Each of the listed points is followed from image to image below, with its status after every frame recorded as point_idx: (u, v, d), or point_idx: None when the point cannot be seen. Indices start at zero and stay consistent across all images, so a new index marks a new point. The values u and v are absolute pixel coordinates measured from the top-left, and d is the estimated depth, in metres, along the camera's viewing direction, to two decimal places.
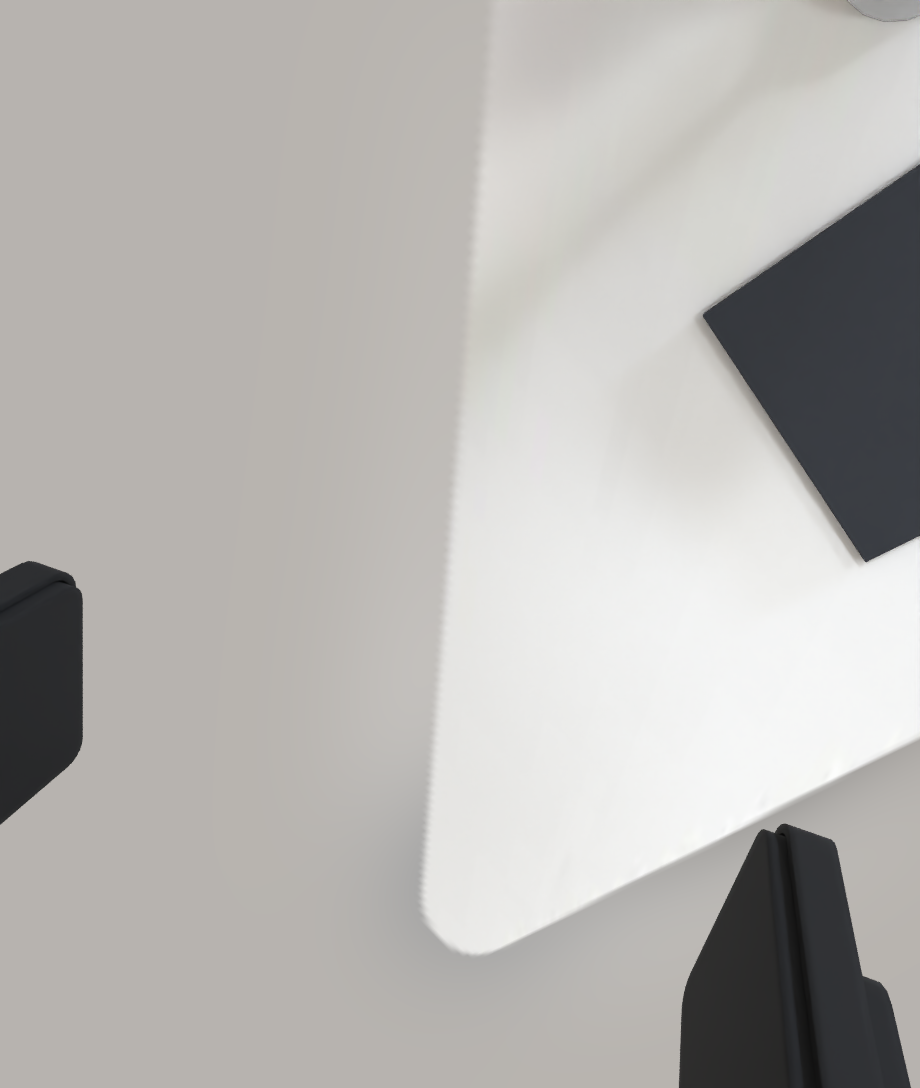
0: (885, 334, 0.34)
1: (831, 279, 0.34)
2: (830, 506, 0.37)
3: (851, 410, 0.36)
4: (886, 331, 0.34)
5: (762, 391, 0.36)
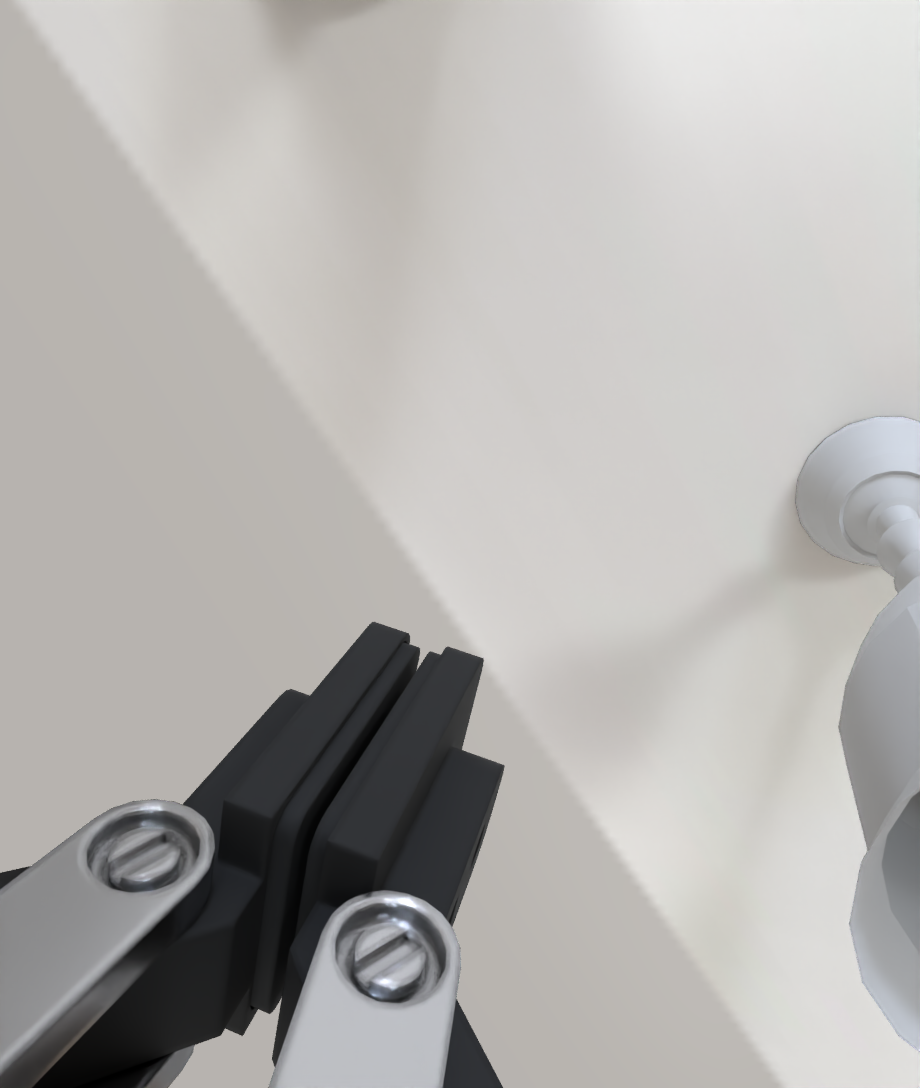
0: None
1: None
2: None
3: None
4: None
5: None
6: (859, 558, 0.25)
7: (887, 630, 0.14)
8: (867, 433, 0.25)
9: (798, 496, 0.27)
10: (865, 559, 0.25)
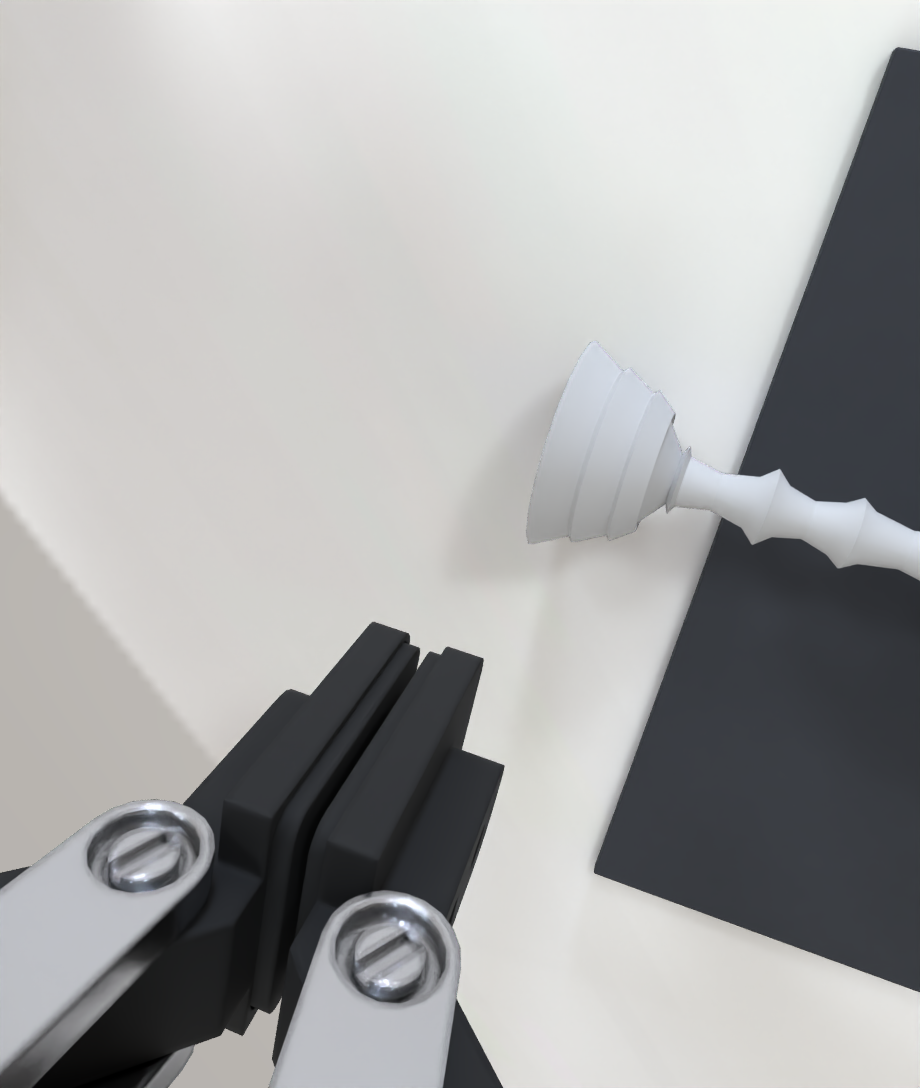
0: (813, 798, 0.24)
1: (696, 777, 0.24)
2: None
3: (852, 889, 0.24)
4: (811, 795, 0.24)
5: (728, 914, 0.26)
6: (620, 529, 0.18)
7: None
8: (613, 360, 0.19)
9: (553, 438, 0.17)
10: (623, 530, 0.19)
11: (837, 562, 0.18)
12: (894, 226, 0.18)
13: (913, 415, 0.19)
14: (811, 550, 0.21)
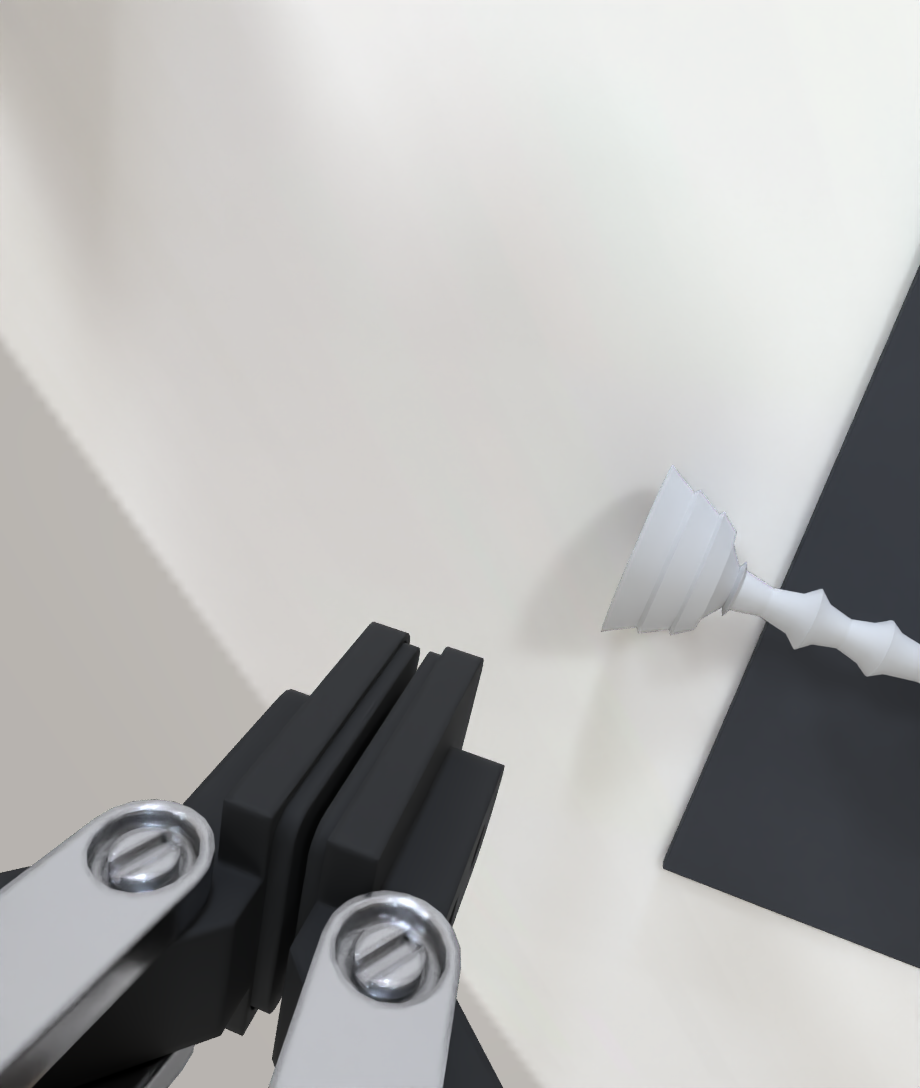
0: (876, 802, 0.25)
1: (766, 779, 0.26)
2: None
3: (909, 888, 0.26)
4: (874, 798, 0.25)
5: (790, 910, 0.28)
6: None
7: None
8: (665, 532, 0.20)
9: (609, 622, 0.22)
10: None
11: None
12: None
13: None
14: (884, 571, 0.23)
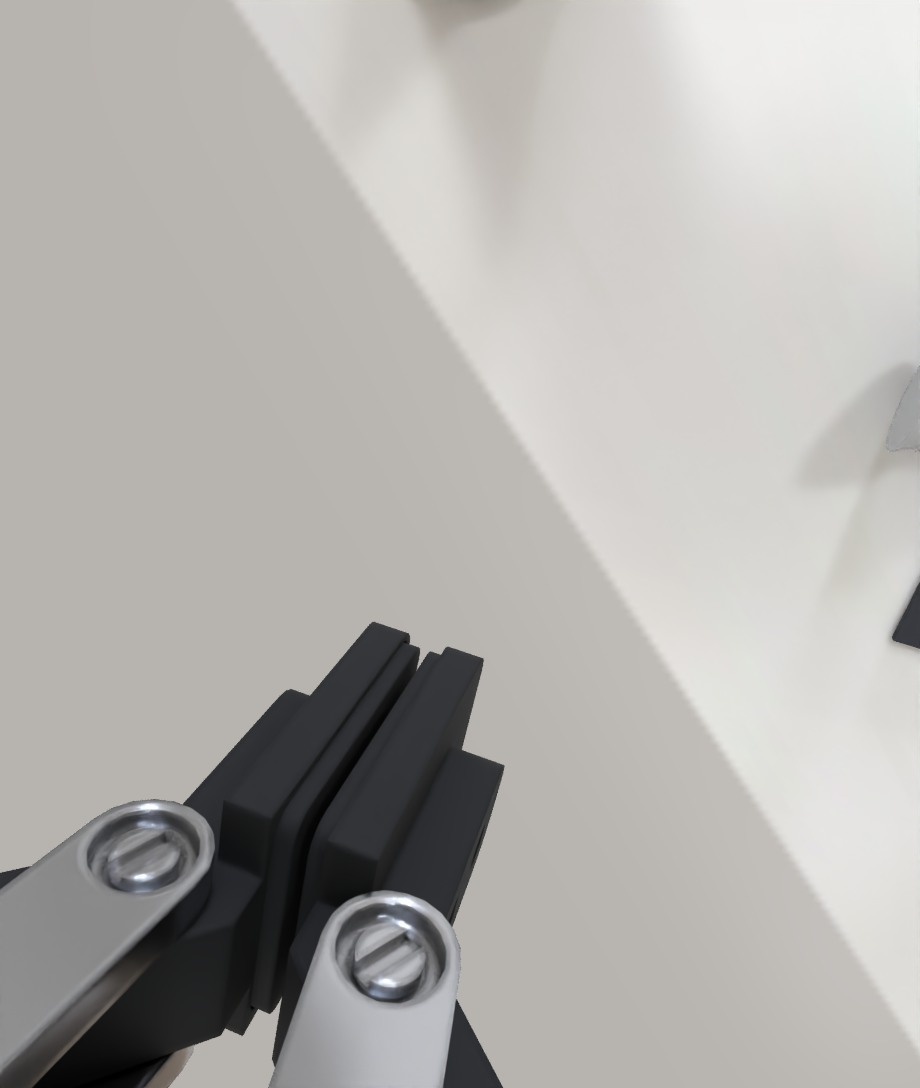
0: None
1: None
2: None
3: None
4: None
5: None
6: None
7: None
8: None
9: (908, 439, 0.34)
10: None
11: None
12: None
13: None
14: None
